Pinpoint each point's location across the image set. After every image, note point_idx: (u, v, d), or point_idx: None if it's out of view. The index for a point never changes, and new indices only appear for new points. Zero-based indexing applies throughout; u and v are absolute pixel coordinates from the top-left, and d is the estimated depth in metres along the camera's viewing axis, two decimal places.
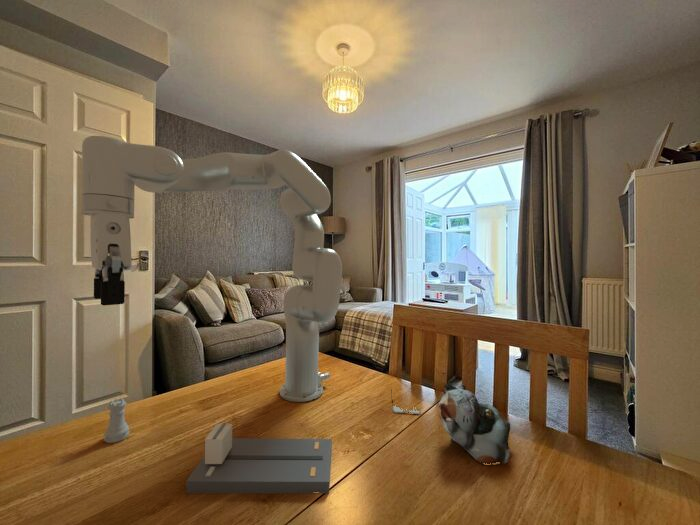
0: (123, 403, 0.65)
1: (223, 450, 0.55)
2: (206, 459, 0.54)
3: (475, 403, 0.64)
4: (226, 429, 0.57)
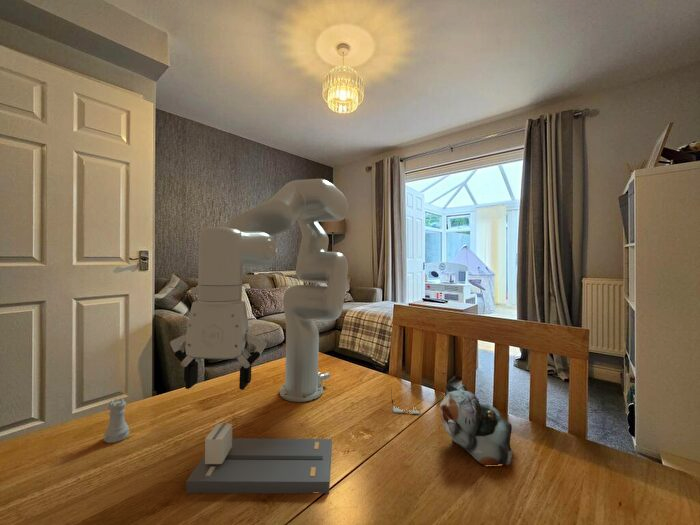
0: (123, 403, 0.65)
1: (223, 450, 0.55)
2: (206, 459, 0.54)
3: (477, 404, 0.64)
4: (226, 429, 0.57)
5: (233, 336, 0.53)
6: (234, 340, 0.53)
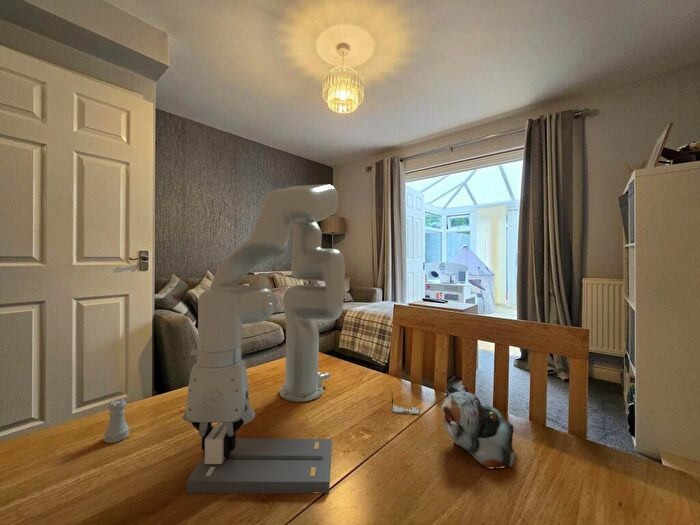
0: (123, 403, 0.65)
1: (223, 450, 0.55)
2: (206, 459, 0.54)
3: (479, 406, 0.63)
4: (226, 429, 0.57)
5: (233, 400, 0.54)
6: (234, 404, 0.54)
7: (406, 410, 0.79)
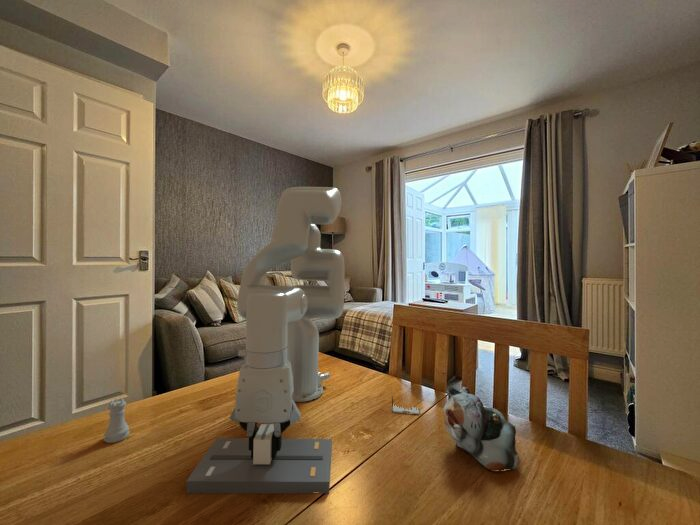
0: (123, 403, 0.65)
1: (270, 451, 0.55)
2: (254, 459, 0.54)
3: (481, 407, 0.63)
4: (272, 429, 0.57)
5: (282, 401, 0.54)
6: (283, 405, 0.54)
7: (406, 410, 0.79)
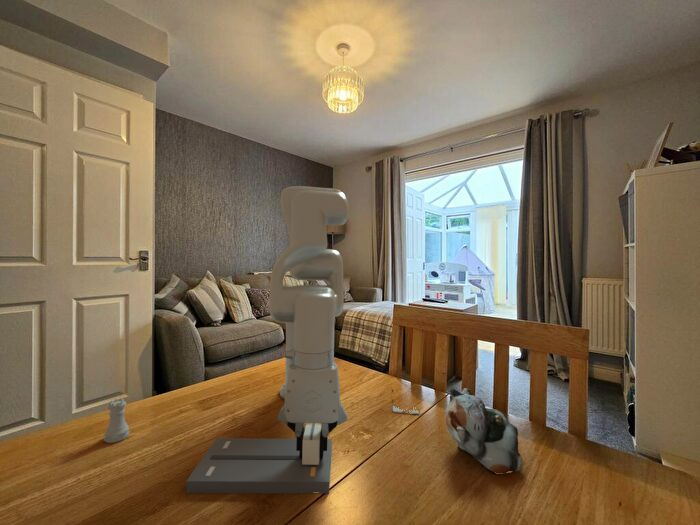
0: (123, 403, 0.65)
1: None
2: (303, 460, 0.55)
3: (484, 409, 0.62)
4: (318, 430, 0.58)
5: (331, 401, 0.54)
6: (332, 405, 0.54)
7: None
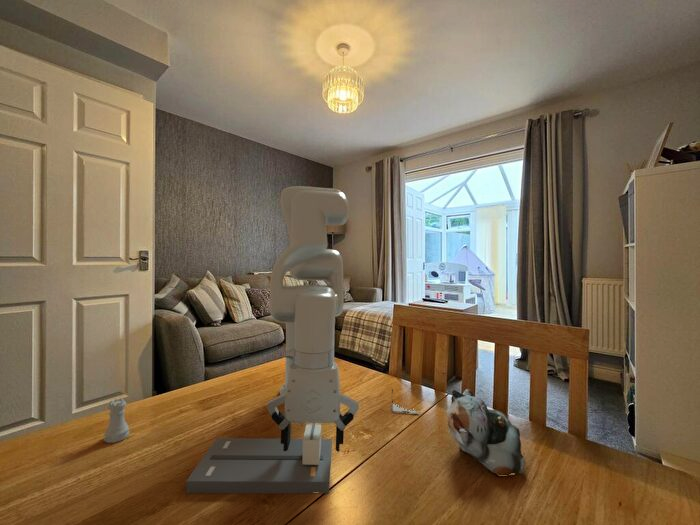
0: (123, 403, 0.65)
1: (319, 451, 0.55)
2: (304, 460, 0.55)
3: (486, 410, 0.61)
4: (318, 430, 0.58)
5: (331, 401, 0.54)
6: (332, 405, 0.54)
7: (405, 410, 0.79)
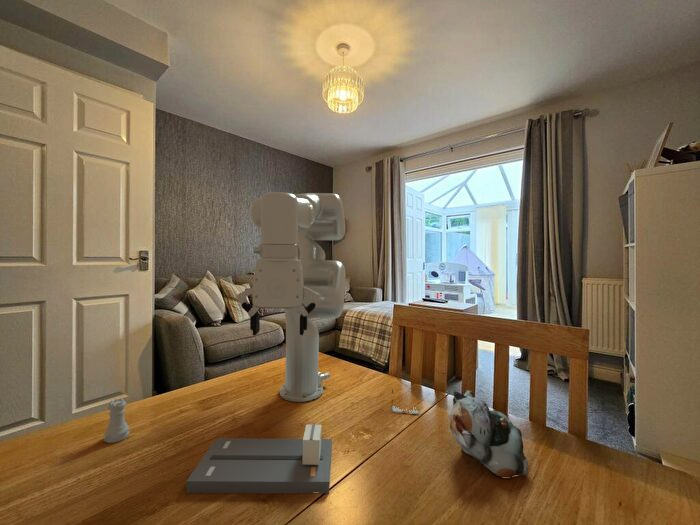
0: (123, 403, 0.65)
1: (319, 451, 0.55)
2: (304, 460, 0.55)
3: (488, 412, 0.61)
4: (318, 430, 0.58)
5: (295, 288, 0.61)
6: (295, 292, 0.61)
7: None
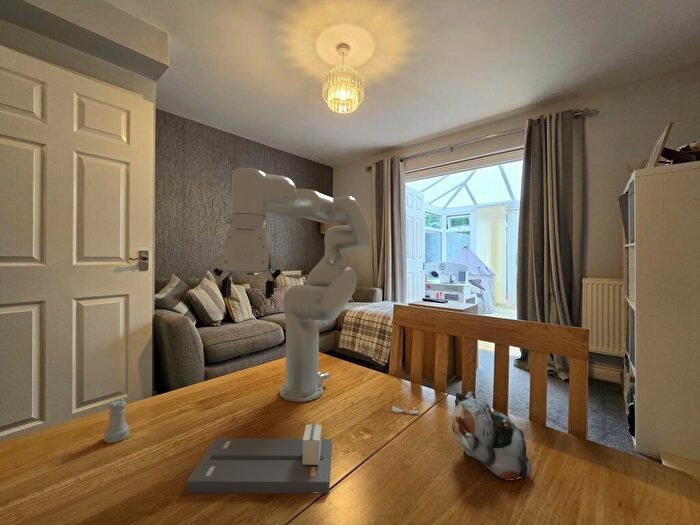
0: (123, 403, 0.65)
1: (319, 451, 0.55)
2: (304, 460, 0.55)
3: (491, 413, 0.60)
4: (318, 430, 0.58)
5: (260, 254, 0.67)
6: (261, 257, 0.68)
7: None
